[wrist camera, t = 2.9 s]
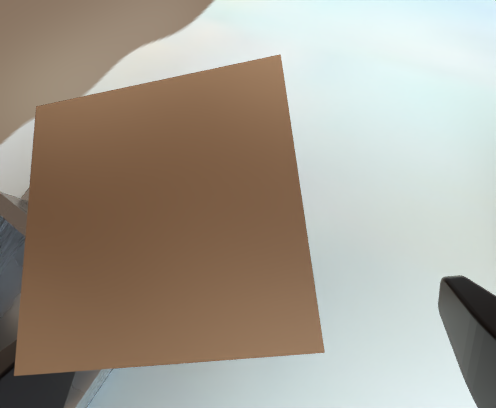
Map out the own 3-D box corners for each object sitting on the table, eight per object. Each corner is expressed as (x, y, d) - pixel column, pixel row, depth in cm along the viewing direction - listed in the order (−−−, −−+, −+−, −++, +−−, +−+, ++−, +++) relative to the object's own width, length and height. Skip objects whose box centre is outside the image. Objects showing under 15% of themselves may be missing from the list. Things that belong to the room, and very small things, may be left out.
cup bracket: (58, 448, 17) (-11, 490, 13) (-55, 325, 20) (-135, 331, 16) (175, 276, 18) (141, 271, 14) (52, 183, 21) (-1, 160, 17)
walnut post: (317, 308, 16) (324, 352, 4) (235, 316, 17) (13, 375, 4) (305, 226, 17) (280, 54, 5) (228, 236, 18) (36, 106, 6)
